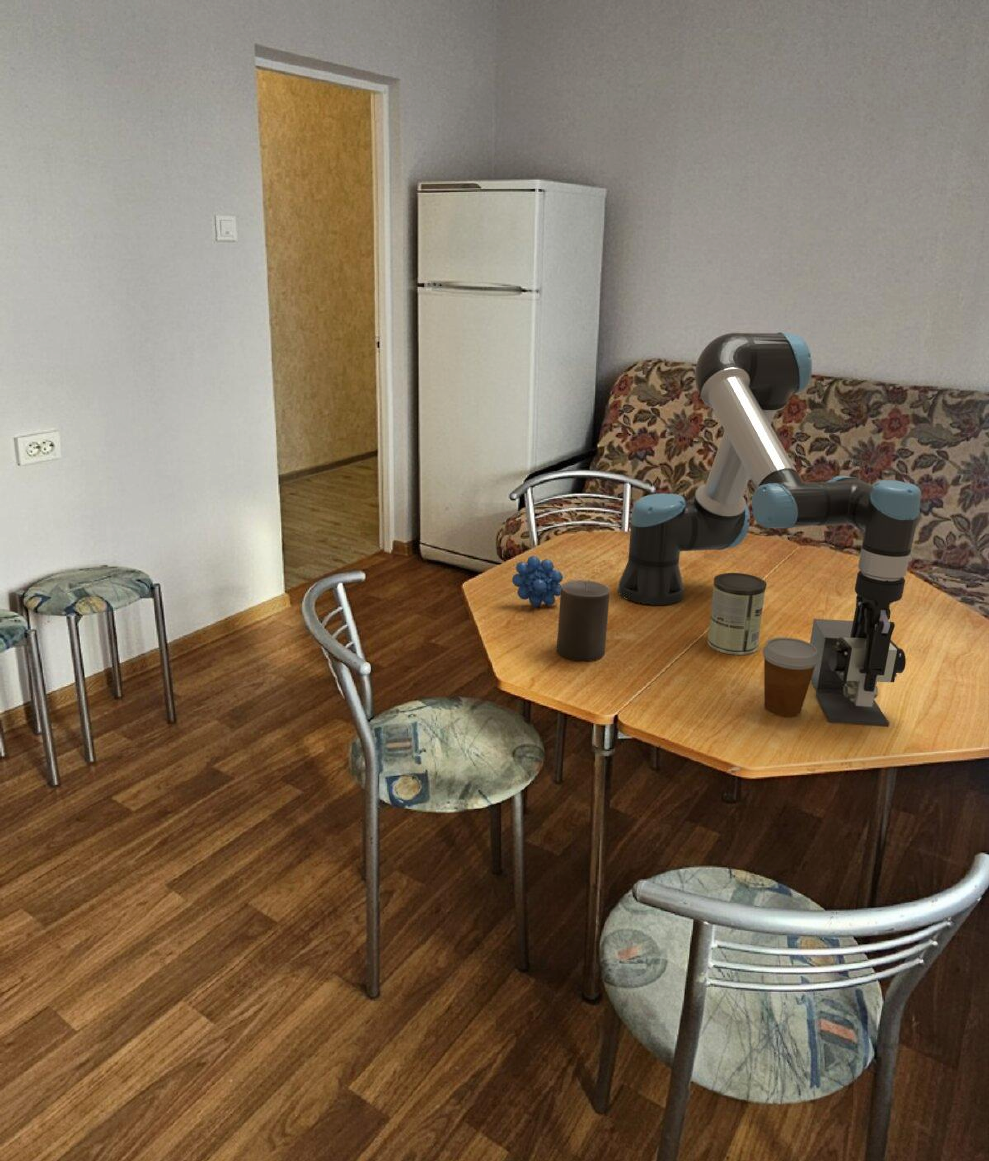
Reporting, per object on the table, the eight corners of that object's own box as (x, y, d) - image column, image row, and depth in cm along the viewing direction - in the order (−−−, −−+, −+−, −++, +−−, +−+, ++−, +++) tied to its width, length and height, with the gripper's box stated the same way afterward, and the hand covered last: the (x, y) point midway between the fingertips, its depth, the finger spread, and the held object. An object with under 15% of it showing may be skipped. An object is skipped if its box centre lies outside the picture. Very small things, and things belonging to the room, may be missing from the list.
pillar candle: (575, 665, 175) (581, 593, 170) (546, 647, 183) (551, 577, 178) (614, 656, 180) (621, 585, 175) (585, 638, 188) (590, 570, 183)
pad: (829, 722, 157) (829, 719, 156) (815, 695, 166) (815, 692, 166) (888, 726, 156) (889, 723, 155) (871, 699, 165) (872, 696, 165)
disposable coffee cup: (747, 712, 159) (756, 650, 155) (763, 691, 167) (771, 632, 163) (802, 727, 155) (813, 663, 150) (816, 705, 162) (826, 644, 158)
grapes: (513, 614, 199) (515, 562, 195) (509, 602, 206) (511, 552, 201) (565, 613, 200) (568, 562, 196) (560, 602, 207) (563, 552, 203)
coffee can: (709, 632, 193) (716, 569, 188) (759, 639, 190) (768, 576, 185) (703, 650, 183) (711, 585, 179) (756, 658, 180) (765, 593, 176)
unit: (817, 693, 167) (826, 638, 163) (805, 670, 176) (813, 618, 172) (867, 696, 166) (877, 642, 162) (852, 673, 175) (862, 620, 171)
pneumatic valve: (897, 707, 157) (910, 644, 153) (830, 705, 157) (841, 642, 153) (885, 692, 162) (897, 631, 158) (820, 690, 163) (830, 629, 158)
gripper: (923, 594, 143) (897, 724, 151) (887, 557, 160) (865, 676, 168) (874, 591, 144) (850, 721, 152) (844, 555, 161) (824, 673, 169)
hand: (858, 697), depth 160 cm, fingers closed on pneumatic valve, 5 cm apart
